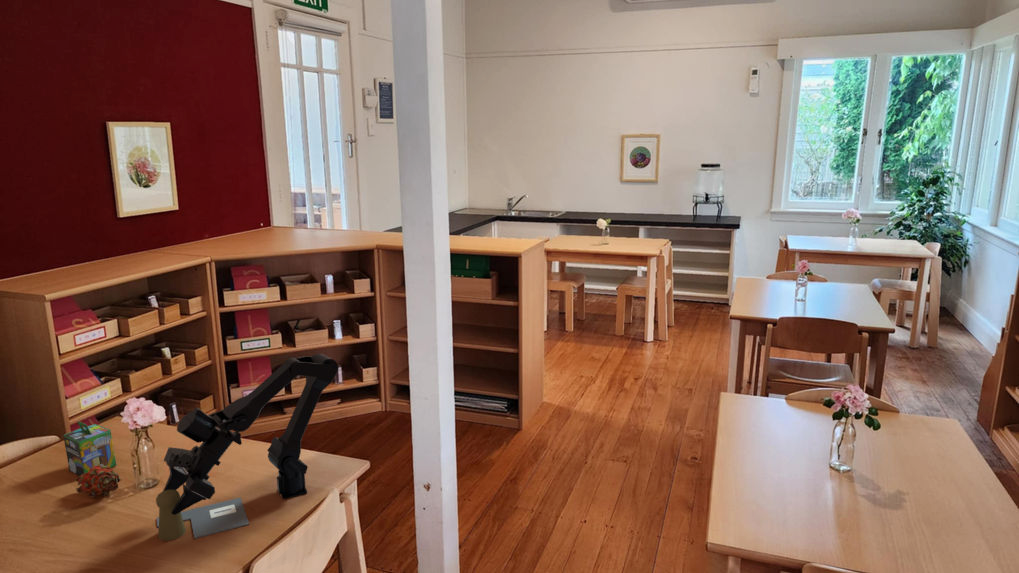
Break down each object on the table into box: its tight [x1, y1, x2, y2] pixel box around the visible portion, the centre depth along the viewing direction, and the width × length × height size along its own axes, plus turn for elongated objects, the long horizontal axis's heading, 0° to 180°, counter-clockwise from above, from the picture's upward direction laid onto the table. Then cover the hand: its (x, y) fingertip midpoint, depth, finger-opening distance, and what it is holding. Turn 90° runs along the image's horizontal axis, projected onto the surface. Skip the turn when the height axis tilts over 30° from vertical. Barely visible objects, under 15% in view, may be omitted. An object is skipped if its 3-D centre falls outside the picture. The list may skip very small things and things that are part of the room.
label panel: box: [156, 497, 250, 540], centre depth 169 cm, size 20×14×1 cm
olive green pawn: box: [155, 490, 187, 542], centre depth 163 cm, size 6×6×11 cm
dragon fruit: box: [75, 465, 122, 498], centre depth 181 cm, size 8×8×12 cm
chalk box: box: [62, 420, 117, 477], centre depth 193 cm, size 9×9×15 cm
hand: (167, 505), depth 162 cm, fingers open, 9 cm apart
